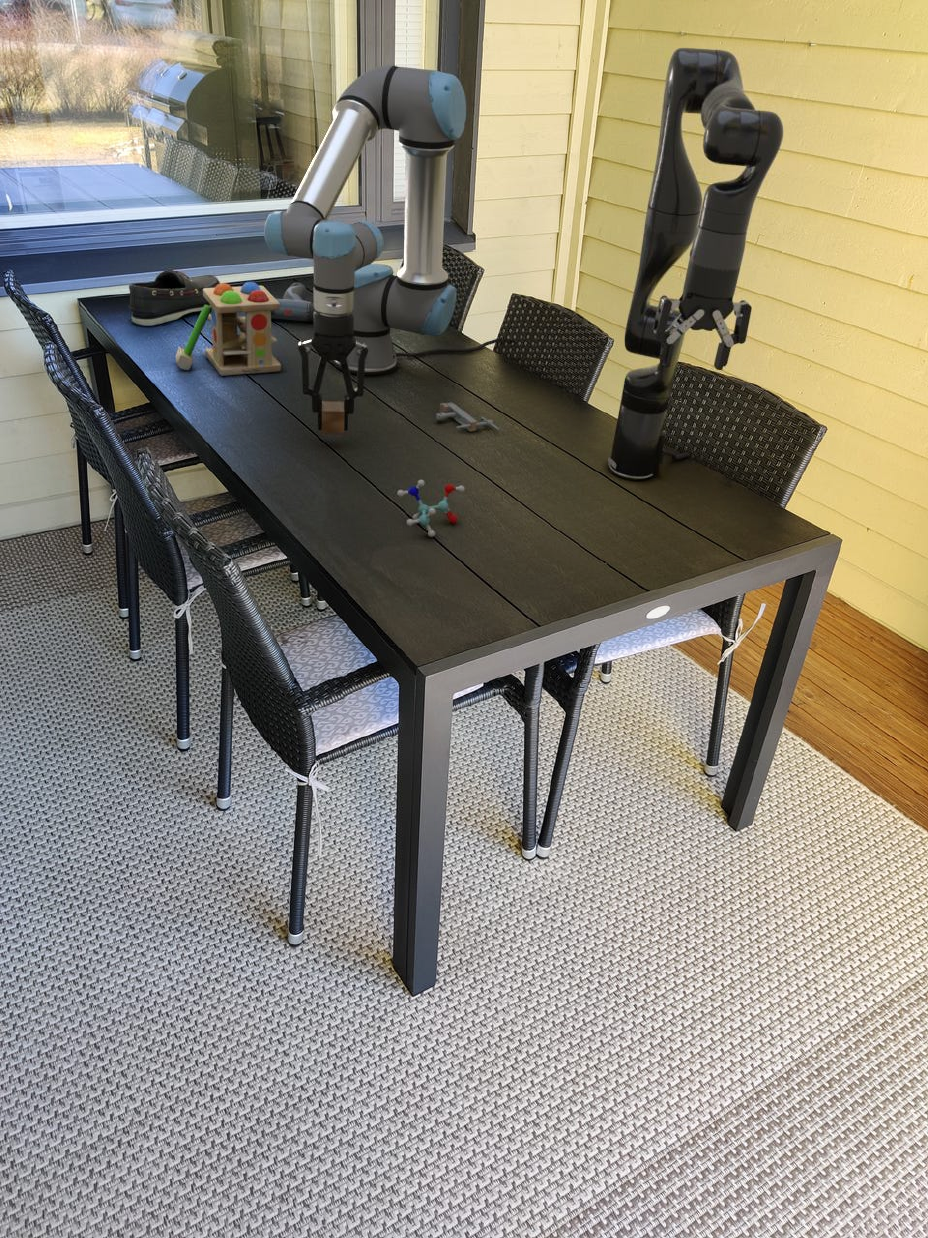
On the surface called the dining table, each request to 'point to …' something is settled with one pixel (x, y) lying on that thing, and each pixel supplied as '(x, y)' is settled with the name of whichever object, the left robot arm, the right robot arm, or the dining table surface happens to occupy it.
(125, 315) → the dining table surface
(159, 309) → the boat shoe
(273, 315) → the power drill
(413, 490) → the molecular model
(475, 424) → the clamp
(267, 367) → the pounding bench toy
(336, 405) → the block
